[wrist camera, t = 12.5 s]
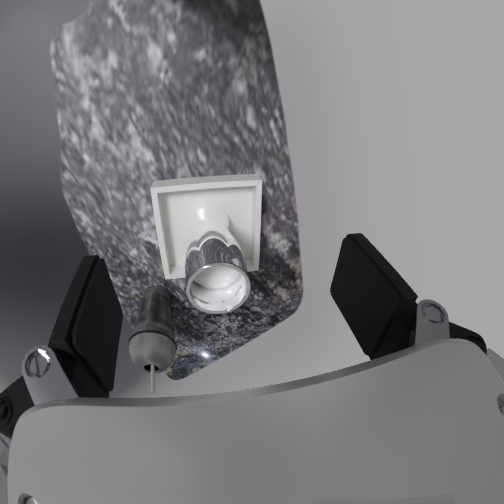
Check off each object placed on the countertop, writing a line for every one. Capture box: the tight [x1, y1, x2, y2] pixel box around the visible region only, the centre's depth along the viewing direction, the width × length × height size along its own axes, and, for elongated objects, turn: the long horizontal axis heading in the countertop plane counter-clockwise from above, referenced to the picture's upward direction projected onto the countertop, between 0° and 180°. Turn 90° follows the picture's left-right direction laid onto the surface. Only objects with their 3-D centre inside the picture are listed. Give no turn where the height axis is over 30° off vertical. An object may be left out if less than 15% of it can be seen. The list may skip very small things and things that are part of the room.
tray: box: [151, 174, 262, 279], centre depth 39 cm, size 15×15×3 cm
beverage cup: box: [129, 286, 177, 394], centre depth 37 cm, size 7×7×20 cm
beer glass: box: [184, 206, 250, 314], centre depth 33 cm, size 7×7×15 cm
